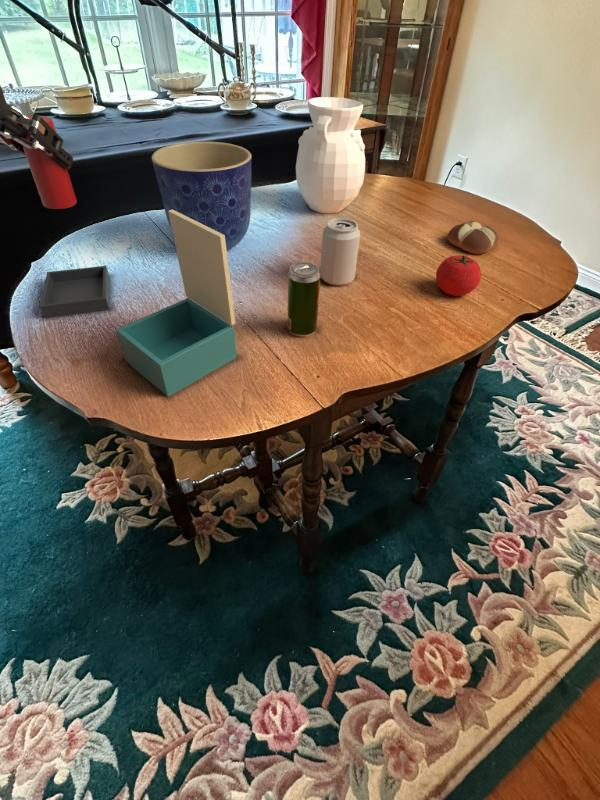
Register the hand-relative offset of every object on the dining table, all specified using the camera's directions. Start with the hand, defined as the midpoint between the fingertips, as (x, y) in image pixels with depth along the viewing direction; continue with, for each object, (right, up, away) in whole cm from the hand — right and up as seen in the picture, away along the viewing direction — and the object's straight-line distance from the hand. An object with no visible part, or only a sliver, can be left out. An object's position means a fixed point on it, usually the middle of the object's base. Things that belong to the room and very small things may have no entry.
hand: (55, 160), depth 69 cm
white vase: (+47, +16, +53) cm, 73 cm away
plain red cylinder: (-1, -5, +3) cm, 6 cm away
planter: (+18, -1, +35) cm, 39 cm away
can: (+47, -12, +24) cm, 54 cm away
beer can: (+40, -26, +10) cm, 48 cm away
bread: (+82, 0, +38) cm, 91 cm away
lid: (+24, -19, -4) cm, 31 cm away
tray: (-4, -18, +16) cm, 24 cm away
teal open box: (+20, -32, +3) cm, 37 cm away
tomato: (+72, -16, +22) cm, 77 cm away
